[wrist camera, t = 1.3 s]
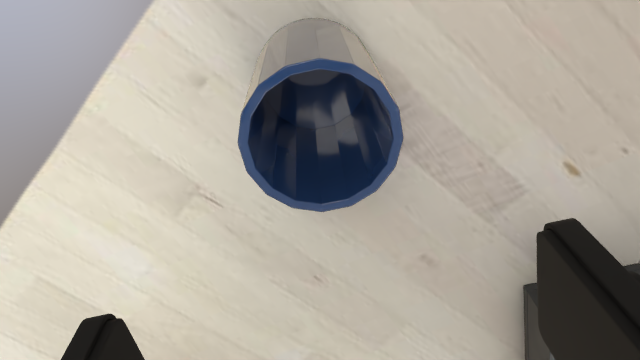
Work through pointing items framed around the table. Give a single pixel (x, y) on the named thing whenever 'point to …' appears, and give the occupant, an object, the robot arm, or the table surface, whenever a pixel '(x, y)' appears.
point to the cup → (318, 119)
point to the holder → (535, 347)
